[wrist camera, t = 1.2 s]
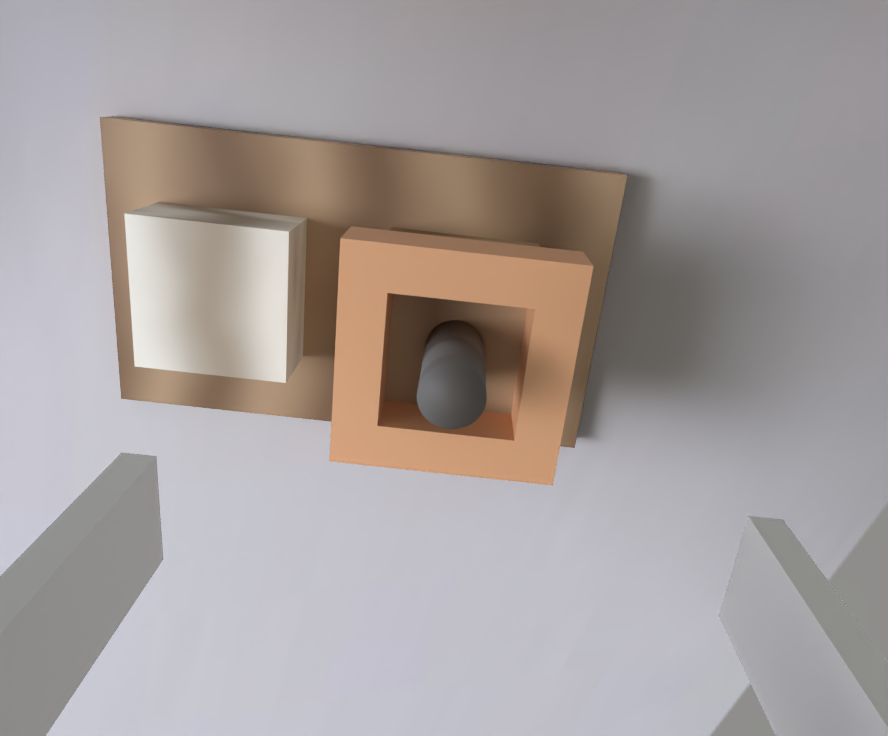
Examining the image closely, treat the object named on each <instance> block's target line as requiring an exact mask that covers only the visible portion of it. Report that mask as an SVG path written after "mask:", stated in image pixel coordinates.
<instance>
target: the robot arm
mask: <svg viewBox="0 0 888 736" xmlns="http://www.w3.org/2000/svg"><path fill="white" fill-rule="evenodd" d="M162 560H163V549H162V534H161V519H160V504H159V489H158V475H157V460H156V456H149V455H139V454H130V453H121V454H120V455H119V456H118V457H117V458H116V459H115V460H114V461H113V462H112V463H111V464H110V465H109V466H108V467H107V468H106V469H105V470H104V471H103V472H102V473H101V474H100V475H99V476H98V477H97V478H96V479H95V480H94V481H93V482H92V483H91V484H90V486H89V487H88V488H87V489H86V490H85V491H84V492H83V493H82V494H81V495H80V496H79V497H78V498H77V499H76V500H75V501H74V502H73V503H72V504H71V505H70V506H69V507H68V508H67V509H66V510H65V511H64V512H63V513H62V514H61V515H60V516H59V517H58V518H57V519H56V520H55V521H54V522H53V523H52V524H51V525H50V526H49V527H48V528H47V529H46V530H45V531H44V532H43V533H42V534H41V535H40V536H39V537H38V538H37V539H36V540H35V542H34V543H33V544H32V545H31V546H30V547H29V548H28V549H27V550H26V551H25V552H24V553H23V554H22V555H21V556H20V557H19V558H18V559H17V560H16V561H15V562H14V563H13V564H12V565H11V566H10V567H9V568H8V569H7V570H6V571H5V572H4V573H3V574H2V575H1V576H0V736H46V734H47V733H48V731H49V730H50V728H51V727H52V725H53V724H54V722H55V721H56V719H57V718H58V716H59V715H60V713H61V712H62V710H63V709H64V707H65V706H66V704H67V703H68V701H69V700H70V698H71V697H72V695H73V694H74V692H75V691H76V689H77V688H78V686H79V685H80V683H81V682H82V680H83V679H84V677H85V676H86V674H87V673H88V671H89V670H90V668H91V667H92V665H93V664H94V662H95V661H96V659H97V658H98V656H99V655H100V653H101V652H102V650H103V649H104V647H105V646H106V644H107V643H108V641H109V640H110V638H111V637H112V635H113V634H114V632H115V631H116V629H117V628H118V626H119V625H120V623H121V622H122V620H123V619H124V617H125V616H126V614H127V613H128V611H129V610H130V608H131V607H132V605H133V604H134V602H135V601H136V599H137V598H138V596H139V595H140V593H141V592H142V590H143V589H144V587H145V586H146V584H147V583H148V581H149V580H150V578H151V577H152V575H153V574H154V572H155V571H156V569H157V568H158V566H159V565H160V563H161V562H162ZM719 617H720V620H721V622H722V624H723V626H724V628H725V630H726V632H727V634H728V636H729V638H730V641H731V643H732V645H733V647H734V649H735V651H736V653H737V655H738V657H739V660H740V662H741V664H742V666H743V668H744V670H745V672H746V674H747V676H748V678H749V681H750V683H751V685H752V687H753V689H754V691H755V693H756V695H757V697H758V699H759V702H760V704H761V706H762V708H763V710H764V712H765V714H766V716H767V718H768V721H769V722H770V725H771V727H772V729H773V731H774V733H775V735H776V736H888V662H887V660H886V659H885V658H884V656H883V655H882V654H881V652H880V651H879V649H878V648H877V647H876V645H875V644H874V643H873V641H872V640H871V639H870V637H869V636H868V635H867V633H866V632H865V631H864V629H863V628H862V626H861V625H860V624H859V622H858V621H857V620H856V618H855V617H854V616H853V614H852V613H851V611H850V610H849V609H848V607H847V606H846V605H845V603H844V602H843V601H842V599H841V598H840V596H839V595H838V594H837V593H836V591H835V590H834V588H833V587H832V586H831V584H830V583H829V581H828V580H827V579H826V577H825V576H824V575H823V573H822V572H821V571H820V569H819V568H818V567H817V565H816V564H815V562H814V561H813V560H812V558H811V557H810V556H809V554H808V553H807V552H806V550H805V549H804V547H803V546H802V545H801V543H800V542H799V541H798V539H797V538H796V537H795V535H794V534H793V533H792V531H791V530H790V528H789V527H788V526H787V524H786V523H785V522H784V520H781V519H771V518H761V517H752V516H748V520H747V523H746V526H745V529H744V533H743V536H742V539H741V543H740V546H739V549H738V553H737V556H736V559H735V563H734V566H733V569H732V573H731V576H730V579H729V583H728V586H727V589H726V593H725V596H724V599H723V602H722V606H721V609H720V612H719Z"/></svg>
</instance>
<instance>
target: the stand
mask: <svg viewBox="0 0 888 736" xmlns="http://www.w3.org/2000/svg"><path fill="white" fill-rule="evenodd" d="M100 125H101V138H102V151H103V164H104V177H105V190H106V204H107V217H108V230H109V243H110V256H111V269H112V282H113V295H114V308H115V322H116V335H117V348H118V361H119V374H120V387H121V399H129V400H138V401H148V402H157V403H166V404H175V405H185V406H194V407H203V408H212V409H222V410H231V411H240V412H249V413H258V414H268V415H277V416H286V417H295V418H305V419H314V420H323V421H332V403H333V382H334V361H335V340H336V319H337V298H338V277H339V256H340V238H341V237H342V236H343V235H344V234H345V233H346V231H347V230H348V229H349V228H350V227H351V226H353V227H363V228H372V229H381V230H390V231H399V232H408V233H417V234H426V235H435V236H445V237H454V238H463V239H472V240H481V241H490V242H499V243H508V244H517V245H526V246H536V247H545V248H554V249H563V250H572V251H581V252H584V253H585V255H586V256H587V258H588V259H589V260H590V262H591V263H592V265H593V272H592V277H591V283H590V288H589V293H588V299H587V304H586V309H585V315H584V320H583V325H582V331H581V336H580V342H579V347H578V352H577V358H576V363H575V368H574V374H573V379H572V384H571V390H570V395H569V401H568V406H567V411H566V417H565V422H564V427H563V433H562V438H561V444H560V446H563V447H572V448H574V447H575V442H576V437H577V432H578V427H579V422H580V417H581V412H582V406H583V401H584V396H585V391H586V386H587V381H588V376H589V371H590V366H591V360H592V355H593V350H594V345H595V340H596V335H597V330H598V325H599V319H600V314H601V309H602V304H603V299H604V294H605V289H606V284H607V278H608V273H609V268H610V263H611V258H612V253H613V248H614V243H615V237H616V232H617V227H618V222H619V217H620V212H621V207H622V202H623V196H624V191H625V186H626V181H627V176H628V175H626V174H624V173H620V172H611V171H602V170H593V169H584V168H575V167H566V166H556V165H547V164H538V163H529V162H520V161H511V160H502V159H493V158H484V157H475V156H466V155H457V154H448V153H439V152H430V151H421V150H412V149H403V148H394V147H385V146H376V145H367V144H357V143H348V142H339V141H330V140H321V139H312V138H303V137H294V136H285V135H276V134H267V133H258V132H249V131H240V130H231V129H222V128H213V127H204V126H195V125H186V124H177V123H167V122H158V121H149V120H140V119H131V118H122V117H113V116H112V117H100ZM526 314H527V308H520V307H511V306H502V305H493V304H484V303H475V302H465V301H456V300H447V299H438V298H429V297H420V296H411V295H401V294H393V297H392V310H391V323H390V336H389V349H388V361H387V374H386V387H385V400H384V401H391V402H401V403H410V404H418V407H419V409H420V411H421V413H422V414H423V416H424V417H425V418H426V419H427V420H428V421H429V422H431V423H432V424H434V425H436V426H438V427H441V428H445V429H459V428H463V427H466V426H468V425H470V424H472V423H474V422H475V421H476V420H477V419H478V418H479V417H480V416H481V414H482V413H483V412H493V413H502V414H511V412H512V405H513V399H514V392H515V386H516V379H517V373H518V366H519V360H520V353H521V347H522V340H523V334H524V327H525V321H526Z"/></svg>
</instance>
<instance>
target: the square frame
mask: <svg viewBox="0 0 888 736" xmlns="http://www.w3.org/2000/svg"><path fill="white" fill-rule="evenodd" d="M592 272H593V265H592V263H591V262H590V260H589V259H588V258H587V256H586V255H585V253H584V252H581V251H572V250H563V249H554V248H545V247H536V246H526V245H517V244H508V243H499V242H490V241H481V240H472V239H463V238H454V237H445V236H435V235H426V234H417V233H408V232H399V231H390V230H381V229H372V228H363V227H353V226H351V227H350V228H349V229H348V230H347V231H346V233H345V234H344V235H343V236H342V237H341V238H340V256H339V277H338V298H337V319H336V340H335V361H334V382H333V403H332V424H331V445H330V461H332V462H342V463H351V464H360V465H369V466H379V467H388V468H397V469H406V470H416V471H425V472H434V473H443V474H453V475H462V476H471V477H480V478H490V479H499V480H508V481H518V482H527V483H536V484H545V485H553V481H554V476H555V470H556V465H557V460H558V454H559V449H560V444H561V438H562V433H563V427H564V422H565V417H566V411H567V406H568V401H569V395H570V390H571V384H572V379H573V374H574V368H575V363H576V358H577V352H578V347H579V342H580V336H581V331H582V325H583V320H584V315H585V309H586V304H587V299H588V293H589V288H590V283H591V277H592ZM393 294H401V295H411V296H420V297H429V298H438V299H447V300H456V301H465V302H475V303H484V304H493V305H502V306H511V307H520V308H527V314H526V321H525V327H524V334H523V340H522V347H521V353H520V360H519V366H518V373H517V379H516V386H515V392H514V399H513V405H512V412H511V414H502V413H493V412H483V413H482V414H481V416H480V417H479V418H478V419H477V420H476V421H475V422H474V423H472V424H470V425H468V426H466V427H463V428H459V429H445V428H441V427H438V426H436V425H434V424H432V423H431V422H429V421H428V420H427V419H426V418H425V417H424V416H423V414H422V413H421V411H420V409H419V407H418V404H410V403H401V402H391V401H384V400H385V387H386V374H387V361H388V349H389V336H390V323H391V310H392V297H393Z"/></svg>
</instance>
